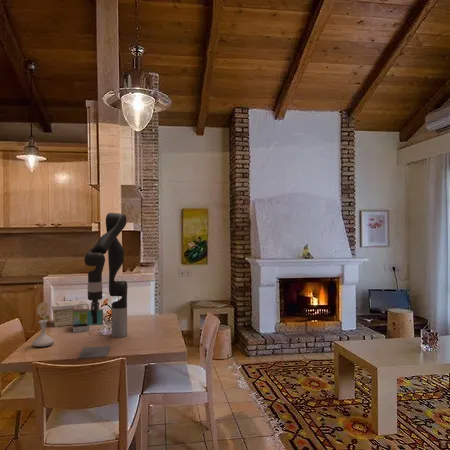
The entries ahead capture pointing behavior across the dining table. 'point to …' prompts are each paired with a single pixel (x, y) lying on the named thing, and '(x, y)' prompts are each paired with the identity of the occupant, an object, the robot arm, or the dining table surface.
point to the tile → (99, 317)
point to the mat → (94, 352)
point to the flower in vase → (43, 327)
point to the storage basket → (65, 312)
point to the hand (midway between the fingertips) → (95, 322)
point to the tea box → (80, 318)
